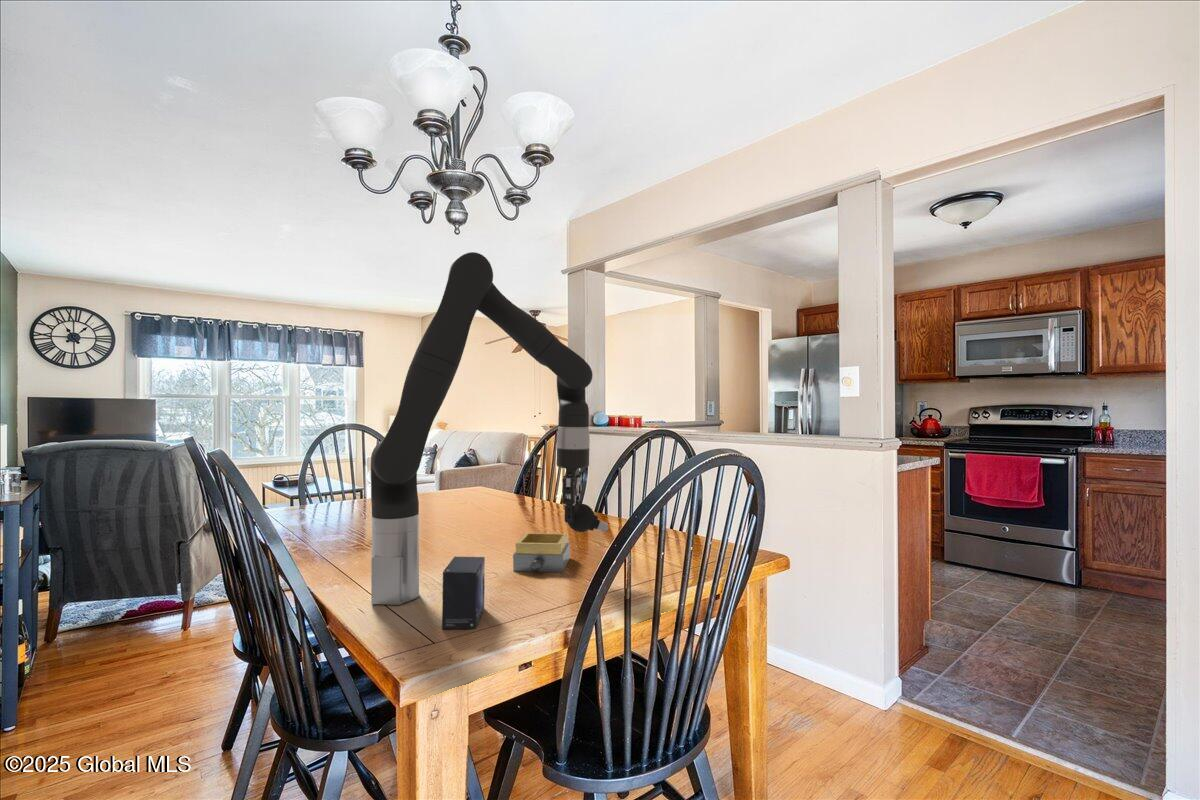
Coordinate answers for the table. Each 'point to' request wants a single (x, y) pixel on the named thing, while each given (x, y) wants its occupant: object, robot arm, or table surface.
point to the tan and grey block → (542, 552)
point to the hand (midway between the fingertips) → (571, 519)
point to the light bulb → (586, 520)
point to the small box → (463, 592)
